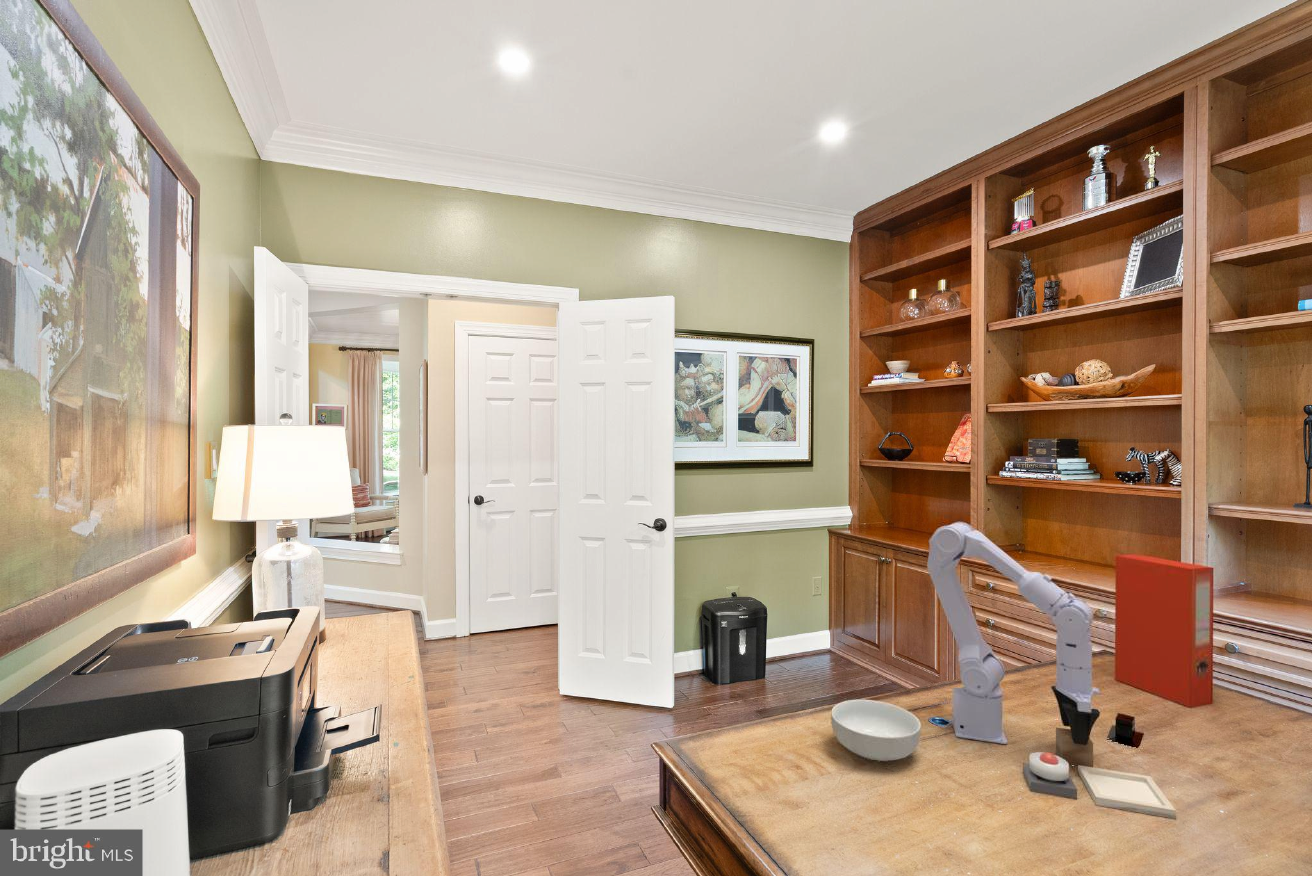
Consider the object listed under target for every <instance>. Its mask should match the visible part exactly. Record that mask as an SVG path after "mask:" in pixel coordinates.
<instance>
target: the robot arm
mask: <svg viewBox="0 0 1312 876" xmlns="http://www.w3.org/2000/svg"><path fill="white" fill-rule="evenodd" d="M928 543H929V551H928V552H929V553H928V558H927V562H926V563H927V564H926V565H927V566H926V567H927V571H928V573H929V576H930V578H931V582H932V584H933V586H934V588H935V591H936V593H937V596H938V598H939V601H940V604H941V606H942V608H943V611H944V614H945V617H946V619H947V621H948V624H949V626H950V629H951V632H952V634H953V637H954V639H955V641H956V644H957V647H958V657H957V658H958V659H957V661H958V664H959V667H960V680H961V683H962V685H963V686H962V687H953V688H952V713H951V723H952V725H953V729H954V734H955V737H957V738H961V739H962V738H964V739H968V740H969V739H970V740H975V741H976V740H977V741H983V742H989V743H995V744H1002V745H1007V744H1008V740H1007V738H1006V735H1005V732H1004V729H1003V691H1002V688H1001V686H1000V682H1002V681H1003V679H1004V678H1005V676H1006V671H1005V667H1004V666H1005V665H1004V664H1003V663H1002V661H1001V660H1000V659H999V658H998V657H997V656H996V655H995V653H994V651H993V649H992V647H991V646H990V645H989V644H988V643H987V642H986V641H985V640H984V637H983V635H982V633H981V630H980V628H979V625H978V621H977V620H976V618H975V615H974V613H973V611H972V608H971V605H970V604H969V601H968V598H967V596H966V594H965V591H964V589H963V588H964V587H963V586H962V583H961V580H960V578H959V575H958V574H957V572H956V567H957V566H958V565H959V563H960V561H961V559H962V558H963V557H966V558H973V559H980V560H983V561H984V562H986V563H987V564H988V565H990V566H991V567H992V568H994V569H995V570H997V571H998V572H1000V573H1001V574H1002V575H1004V576H1005V577H1006V578H1008V579H1010V580H1011V581H1012V582H1014V583H1015V584H1016V586H1017V590H1018V594H1019V595H1021V596H1022V597H1023V598H1024V599H1026V600H1027V601H1028V602H1030V603H1031V604H1032V605H1033V606H1035V607H1036V608H1038V610H1040V611H1041V612H1043V613H1044V614H1046V616H1048V617H1050V618H1052V622H1053V625H1054V626H1055V628H1056V629H1057V631H1056V635H1057V636H1056V639H1055V640H1056V644H1055V645H1056V649H1055V650H1056V651H1055V652H1056V655H1055V656H1056V682H1055V685H1052V686H1050V688H1051V690H1052V692H1053V694H1054V697H1055V699H1056V703H1057V705H1058V710H1059V715H1060V719H1061V722H1062V725H1063V726H1064V727H1070V728H1069V729H1070V730H1071V735H1072V739H1073V742H1074V743H1075V744H1081V745H1087V743H1088V740H1089V737H1090V735H1091V732H1092V728H1093V726H1094V725H1095V724H1096V723H1095V722H1096V721H1097V720H1098V719H1099V718H1100V716H1101V711H1100V710H1099V709H1097V708H1092V700H1093V697H1094V695H1097V696H1100V694H1101V693H1100V692H1101V691H1100V689H1099V688H1098V687H1095V686H1093V643H1092V640H1091V639H1092V632H1091V628H1090V627H1091V624H1092V623H1093V621H1094V611H1093V609H1092V608H1091V607H1090V606H1089V604H1088V603H1087V602H1086V601H1085V600H1084V599H1081V598H1078V597H1077V598H1076V596H1075V595H1074V594H1073V593H1071V592H1069V593H1067V592H1066V591H1065V590H1063V589H1062V588H1060V587H1059V586H1058V585H1057V584H1055V583H1054V582H1053V581H1052V579H1053V577H1052V576H1050V575H1049V574H1047V573H1045V574H1044V575H1043V574H1042V573H1041V572H1038V571H1033V572H1032V571H1028V570H1027V569H1026V568H1024V566H1022V565H1020V564H1019V563H1018V562H1017V561H1016V560H1015V559H1014V558H1012V557H1011V556H1010V555H1008V554H1007V553H1006V552H1005V551H1003V549H1001V548H1000V547H998V546H997V545H996V544H995V543H994V542H992V541H991V540H990V539H989V538H988V537H987V536H985V534H984V533H982V531H980V530H977V529H974V527H972V526H971V525H970V524H968V523H966V522H964V521H956V522H953V523H951V524H948V525H943V526H940V527H938V528H937V529H936V530H935V531H934V532H933V534H932V536H931V537H930V539H929V540H928Z"/></svg>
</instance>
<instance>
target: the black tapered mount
mask: <svg viewBox="0 0 1312 876" xmlns="http://www.w3.org/2000/svg"><path fill="white" fill-rule="evenodd" d="M1144 735H1145V733H1144V732H1140V731H1137V730H1136V717H1135V716H1132V715H1129V714H1124V713H1121V712H1117V714H1116V716H1115V725H1114V724H1113V725H1111V726H1110V728H1109V731H1108V733H1107V736H1106V739H1107V738H1109V739H1107V740H1112V741H1111V742H1110V743H1114V742H1118V745H1121V744H1124V745H1123V746H1124V747H1129V746H1131V747H1130V748H1133V747H1136V748H1138V747H1139V746H1140V747H1141V744H1142V741H1143V738H1144ZM1126 745H1127V746H1126ZM1140 747H1139V748H1140ZM1136 748H1135V749H1136Z"/></svg>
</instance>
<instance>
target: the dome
mask: <svg viewBox="0 0 1312 876" xmlns="http://www.w3.org/2000/svg"><path fill="white" fill-rule="evenodd" d="M1028 763H1029V768H1030V770H1031V771H1032V772H1033V773H1035V774H1036V775H1038V776H1040V777H1041V780H1044V781H1050V782H1056V783H1057V781H1064V780H1067V779H1068V778H1069V775H1070V766H1069V764H1068V762H1067V761H1066V760H1064V759H1062V758H1061V757H1058V755H1057V754H1056V755H1055V754H1053V753H1051V752H1043V751H1042V752H1041V751H1037V752H1032V753H1030V754H1029V761H1028Z"/></svg>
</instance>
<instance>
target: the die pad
mask: <svg viewBox="0 0 1312 876" xmlns="http://www.w3.org/2000/svg"><path fill="white" fill-rule="evenodd" d="M1077 768H1078V769H1077V772H1078V773H1077V774H1078V775H1079V776H1080V778H1081V780H1082V781H1081V782H1083V784H1084V786H1085V787H1086V790H1087V791H1088V793H1089V795H1090V796H1091V799H1092V800H1093V802H1094V804H1095V805H1096V806H1099V807H1105V808H1111V809H1116V810H1122V811H1127V812H1133V813H1140V814H1145V815H1151V816H1156V817H1157V816H1158V817H1162V818H1167V819H1169V818H1170V819H1174V820H1176V819H1177V810H1176V809H1175V807H1174V806H1173V805H1172V803H1171V802H1170V801H1169V800H1168V798H1167V797H1166V796H1165V794H1164V793H1163V791H1162V790H1161V789H1160V787H1159V786H1158V785H1157V783H1156V782H1155V781H1154V780H1153V778H1152V777H1151V776H1150V775H1143V774H1138V773H1137V774H1136V773H1130V772H1124V771H1119V770H1112V769H1111V770H1110V769H1104V768H1099V767H1094V766H1093V767H1087V766H1081V765H1078V767H1077Z"/></svg>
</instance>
